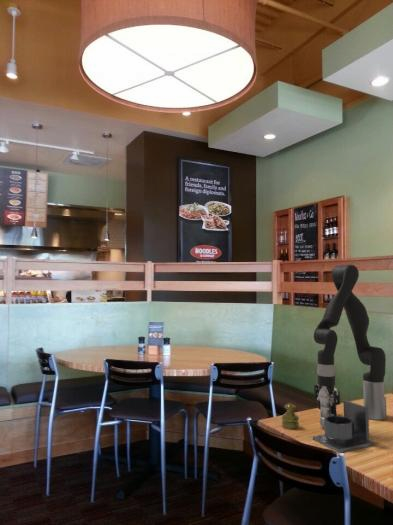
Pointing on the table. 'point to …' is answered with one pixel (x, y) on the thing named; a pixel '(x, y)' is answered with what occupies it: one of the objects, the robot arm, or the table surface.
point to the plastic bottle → (324, 404)
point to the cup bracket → (347, 429)
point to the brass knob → (290, 418)
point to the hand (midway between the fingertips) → (327, 411)
